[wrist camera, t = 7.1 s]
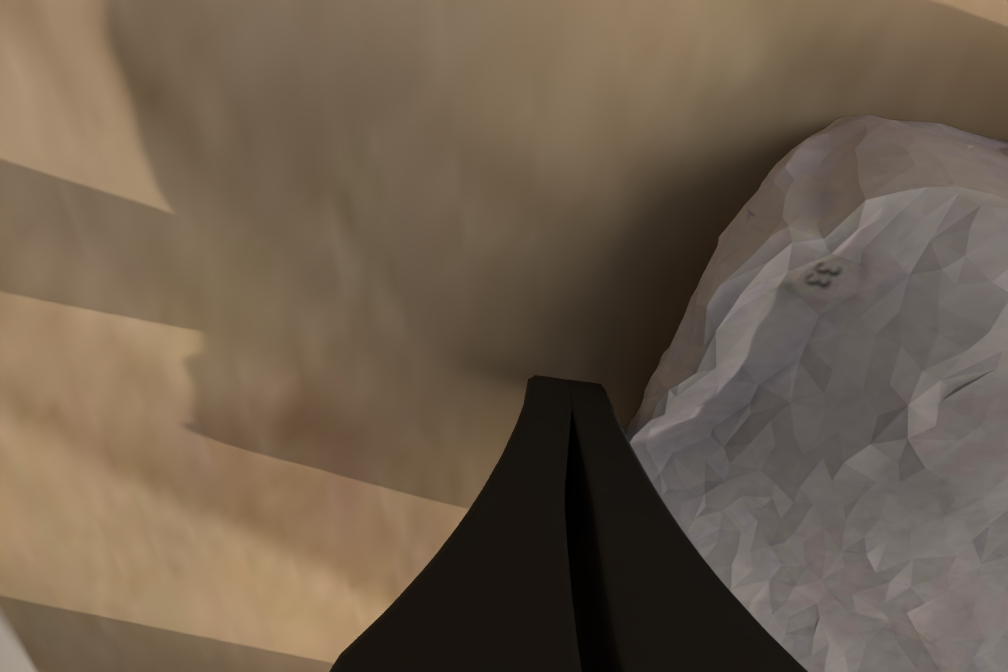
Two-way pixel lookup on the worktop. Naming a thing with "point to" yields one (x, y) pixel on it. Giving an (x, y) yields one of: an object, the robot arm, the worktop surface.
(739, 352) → the grey rock
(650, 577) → the robot arm
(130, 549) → the worktop surface
